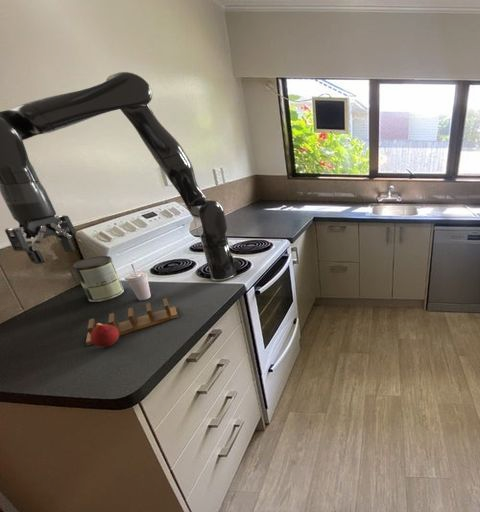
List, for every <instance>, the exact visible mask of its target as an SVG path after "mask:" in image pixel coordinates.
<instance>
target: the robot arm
mask: <svg viewBox="0 0 480 512" xmlns="http://www.w3.org/2000/svg"><path fill="white" fill-rule="evenodd" d="M152 99H153V90H152V88H151V86H150V84H149V83H148V82H147V80H145V79H144V78H143V77H142V76H140V75H138V74H137V73H134V72H129V71H120V72H116V73H113V74H110V75H109V76H108V77H106V79H105V81H103V82H102V83H100V84H99V83H98V84H97V85H94V86H91V87H87V88H84V89H81V90H76V91H72V92H65V93H62V94H61V93H60V94H56V95H52V96H48V97H44V98H40V99H36V100H33V101H30V102H29V101H28V102H25V103H22V104H20V105H18V106H16V107H13V108H10V109H5V110H0V195H1V197H2V199H3V201H4V203H5V205H6V206H7V208H8V210H9V213H10V214H11V216H12V218H13V220H15V222H17V223H18V226H17V227H12V228H11V227H10V228H8V227H7V228H5V229H4V231H5V234H6V236H7V238H8V240H9V243H10V245H11V247H12V250H13V251H14V252H25V253H26V255H27V256H28V259H29V261H30V262H31V263H33V264H35V265H40V264H44V263H45V259H44V256H43V255H42V253H41V251H40V250H39V246H40V243H42V241H43V239H46V238H48V237H51V236H52V237H53V236H54V237H56V238H57V239H60V240H59V242H60V244H61V246H62V248H63V251H64V252H66V253H72V252H75V245H74V243H73V241H72V238H73V236H76V235H77V234H78V233H77V231H76V229H75V227H74V225H73V223H72V221H71V219H70V217H69V216H68V215H57V212H56V210H55V208H54V206H53V203H52V201H51V199H50V197H49V195H48V192H47V190H46V187H44V185H43V184H42V183H41V181H40V178H39V176H38V174H37V172H36V170H35V168H34V165H33V164H32V163H31V161H30V158H29V155H28V152H27V149H26V146H25V143H24V141H25V140H28V139H31V138H33V137H36V136H39V135H45V134H50V133H54V132H56V131H59V130H62V129H66V128H68V127H71V126H73V125H76V124H79V123H82V122H84V121H87V120H89V119H93V118H94V117H97V116H100V115H103V114H106V113H110V112H114V111H118V110H120V111H121V112H122V114H123V116H125V118H126V119H127V120H128V121H129V122H130V124H132V126H133V128H134V129H135V130H136V132H137V134H138V135H139V137H140V139H141V140H142V142H143V143H144V145H145V146H146V148H147V150H148V151H149V152H150V154H151V156H152V157H153V160H155V162H156V164H158V166H159V167H160V169H161V170H162V171H163V173H164V174H165V176H166V178H167V179H168V180H169V182H170V183H171V184H172V186H173V187H174V188H175V189H176V191H177V192H178V194H179V196H180V197H181V199H182V201H183V203H184V205H185V207H186V208H187V211H188V213H189V214H190V215H191V216H192V218H193V219H195V220H196V221H198V222H201V228H202V232H201V233H199V238H200V241H201V245H202V249H203V253H204V257H205V260H206V261H205V262H206V264H207V268H208V272H209V275H210V279H211V281H212V282H224V281H227V280H231V279H233V278H234V277H237V276H238V274H237V271H238V270H239V269H240V268H241V266H242V265H241V262H239V260H238V259H237V258H236V257H234V256H233V254H232V253H231V249H230V244H229V239H228V235H227V232H228V226H227V225H228V224H227V219H226V214H225V211H224V207H223V206H222V204H221V203H220V202H218V201H216V200H213V199H208V198H207V197H206V195H205V194H204V192H203V191H202V189H201V188H200V187H199V184H198V182H197V180H196V176H195V171H194V167H193V164H192V162H191V160H190V159H189V157H188V155H187V153H186V151H185V150H184V148H183V147H182V146H181V144H180V143H179V142H178V141H177V139H176V138H175V136H173V135H172V133H170V132H169V131H168V130H167V129H166V128H165V127H164V126H163V125H162V123H161V122H160V121H159V120H158V118H157V117H156V115H155V114H154V112H153V110H152V109H151V106H150V105H149V104H150V102H151V101H152Z"/></svg>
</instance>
